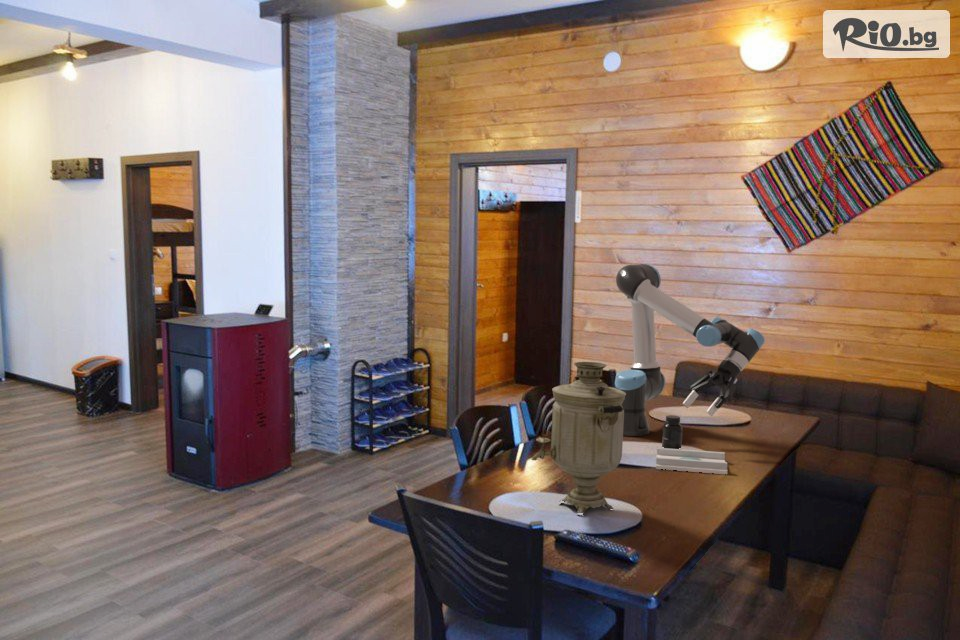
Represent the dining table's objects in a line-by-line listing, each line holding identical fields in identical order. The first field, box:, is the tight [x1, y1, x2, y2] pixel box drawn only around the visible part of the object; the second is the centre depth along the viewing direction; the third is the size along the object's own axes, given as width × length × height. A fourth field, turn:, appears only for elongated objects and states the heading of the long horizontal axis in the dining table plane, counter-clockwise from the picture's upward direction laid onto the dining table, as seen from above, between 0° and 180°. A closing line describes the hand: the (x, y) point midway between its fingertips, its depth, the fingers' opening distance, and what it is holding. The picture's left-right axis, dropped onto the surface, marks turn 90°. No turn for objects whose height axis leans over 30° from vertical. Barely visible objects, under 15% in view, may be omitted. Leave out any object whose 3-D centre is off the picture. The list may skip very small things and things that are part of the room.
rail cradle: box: [655, 447, 729, 475], centre depth 243 cm, size 22×16×3 cm
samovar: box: [531, 361, 626, 514], centre depth 202 cm, size 30×26×40 cm
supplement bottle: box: [661, 414, 683, 449], centre depth 261 cm, size 7×7×12 cm
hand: (696, 409), depth 263 cm, fingers open, 13 cm apart
